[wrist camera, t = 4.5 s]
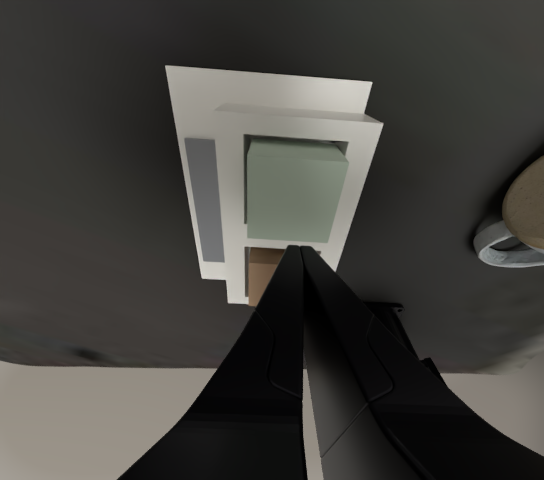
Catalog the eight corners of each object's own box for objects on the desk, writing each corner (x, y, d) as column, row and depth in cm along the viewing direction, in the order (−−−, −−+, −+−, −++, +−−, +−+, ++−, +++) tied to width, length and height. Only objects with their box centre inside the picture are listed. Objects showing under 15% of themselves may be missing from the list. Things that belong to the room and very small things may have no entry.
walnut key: (311, 239, 17) (316, 266, 15) (302, 279, 20) (306, 308, 17) (252, 235, 17) (248, 263, 15) (251, 276, 20) (248, 305, 17)
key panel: (366, 81, 13) (396, 84, 10) (315, 277, 23) (322, 311, 19) (172, 65, 13) (136, 64, 9) (204, 271, 22) (192, 304, 19)
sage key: (334, 144, 12) (349, 162, 10) (319, 215, 15) (327, 243, 12) (253, 138, 12) (247, 155, 10) (251, 210, 15) (247, 238, 12)
